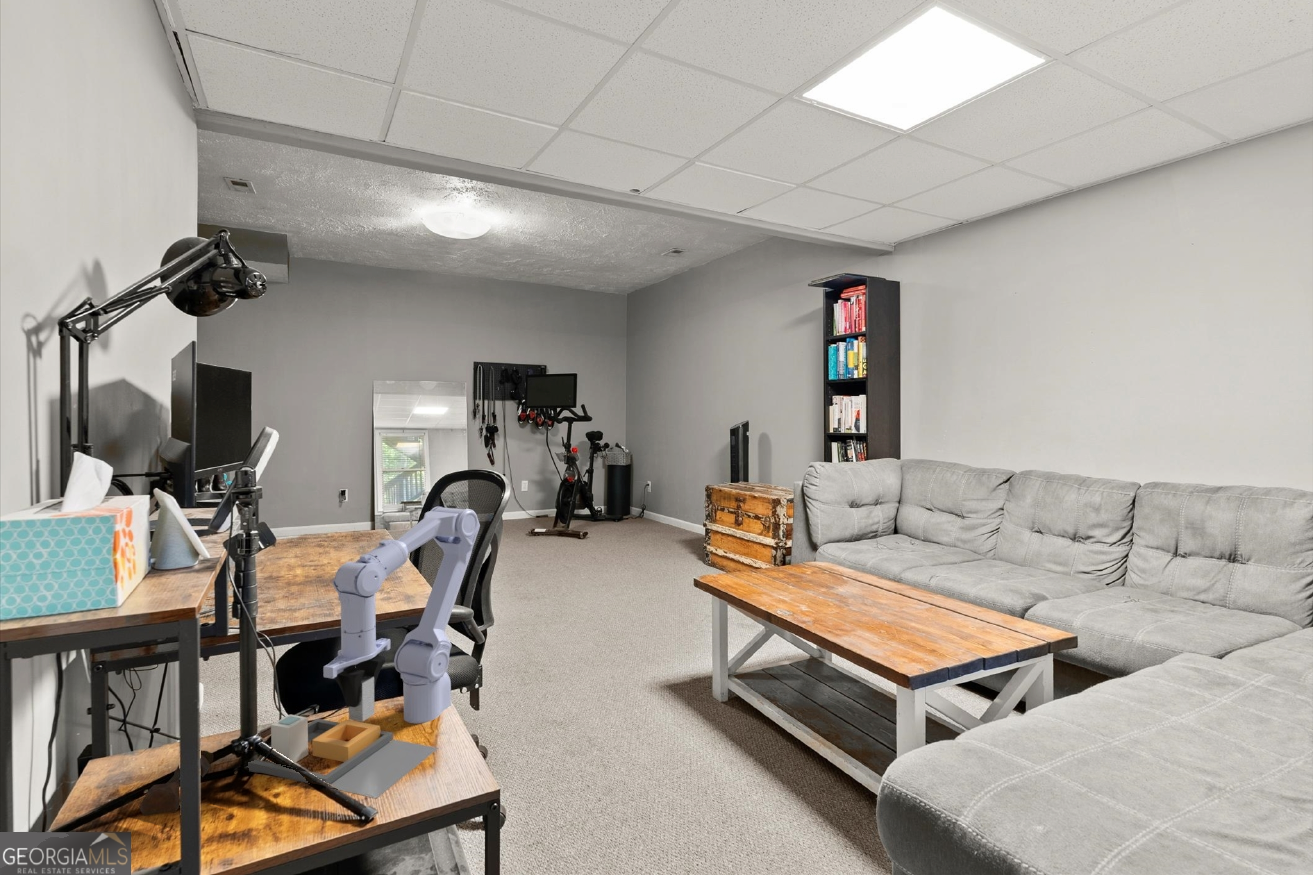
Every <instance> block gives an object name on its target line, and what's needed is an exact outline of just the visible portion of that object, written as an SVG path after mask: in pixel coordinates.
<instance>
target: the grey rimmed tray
mask: <svg viewBox="0 0 1313 875" xmlns="http://www.w3.org/2000/svg"><path fill="white" fill-rule="evenodd" d="M346 740H348V741H346ZM392 740H394V733H393V732H391V731H385V730H381V725H378V724H373V723H365V722H362V721H356V720H350V719H345V720H343V721H341V722H337V721H333V720H332V721H331V720H327V719H323V718H322V719H320V718H316V719H314V720H313V721H311V722H308V743H309V742H311V741H312V742H311V745H312V746H311V747H312V756H313V757H318V758H323V759H327V760H332V761H338V762H342V763H341V764H340V765H338V766H336V767H335V768H334V769H332V770H331V771H329V772H327V774H323V773H319V772H313V771H310V772H311V773H312V774H314V775H315V776H317V778H319V779H322V781H325V782H326V783H329V784H330V785H331V783H333V782H334V781H335V780H337V779H338V778H340V777H341V776H342V775H344V774H345V773H347V772H348V771H349V770H351V769H352V768H354V767H355V766H356V765H358V764H359V763H361V762H362V761H363V760H365V759H366V758H368V757H369V756H371V755H372V754H373V753H375V752H376V751H378V750H379V749H380V748H382V747H383V746H385V745H386V744H387V743H389V742H391V741H392ZM270 746H272V745H270ZM283 766H284V765H282V766H281V764H276V763H272V762H270V761H268V760H265V761H259V760H254V761H251V762H248V768H249V771H248V772H251V773H256V774H258V773H261V774H266V775H270V776H274V777H278V778H282V779H288V780H291V781H292V780H293V781H297V782H302V783H306V784H310V783H308V781H306V779H305V778H304V777H303V776H302V775H301V774H300V773H299V772H296V771H295V770H293V769H289V768H286V767H283Z"/></svg>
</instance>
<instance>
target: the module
mask: <svg viewBox="0 0 1313 875" xmlns="http://www.w3.org/2000/svg"><path fill="white" fill-rule="evenodd" d="M308 724H309V722H308V717H306V716H301V715H295V714H288V715H286V716H285V717H282V718H281V719H279V720H278V721H275V722H274V723H271V725H270V731H271V732H270V738H271V740H270V741H271V745H272V748H274V749H276V751H277V752H279V753H281V754H283V755H284V756H286V757H287V758H289V759H290V760H292V761H293V762H296V763H297V762H298V761H300V760H302V759H303V758H305V757H307V756H309V742H308ZM271 745H270V746H271ZM272 763H273V764H275V763H274V762H272Z"/></svg>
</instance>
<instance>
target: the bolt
mask: <svg viewBox="0 0 1313 875" xmlns="http://www.w3.org/2000/svg"><path fill="white" fill-rule="evenodd" d="M200 750H201V749H200ZM213 761H214V754H213V752H210V751H207V750H201V776H202V778H203V777H205V776H206V774H207V773H208V771H209V770H210V769H211V764H212V763H213ZM173 774H174V775H172V777H171V778H169V780H168V781H167V782H166V783H160V784H153V785H152V786H151V787H150V788H149V789H148V791H147V792H146V793H145V796H144V797H143V799H142V800H141V802H140V804H139V806H138V807H139V809H140V813H141V814H142V815H143V816H144V817H145V816H146V817H148V816H154V815H155V816H156V815H162V814H169V813H176V812H177V811H178V809H180V807H179V765H178V766H177V768H176V769H175V771H174V773H173ZM202 778H201V779H202Z"/></svg>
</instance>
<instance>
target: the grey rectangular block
mask: <svg viewBox="0 0 1313 875" xmlns="http://www.w3.org/2000/svg"><path fill="white" fill-rule="evenodd" d="M373 715H375V688H374V677H373V676H366V675H363V677H362V680H361V685H360V696H359V704H358V706H357V707H349V706H348V720H351V721H357V722H362V723H364V721H366V720H367V719H369V718H370V717H372V716H373Z"/></svg>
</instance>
